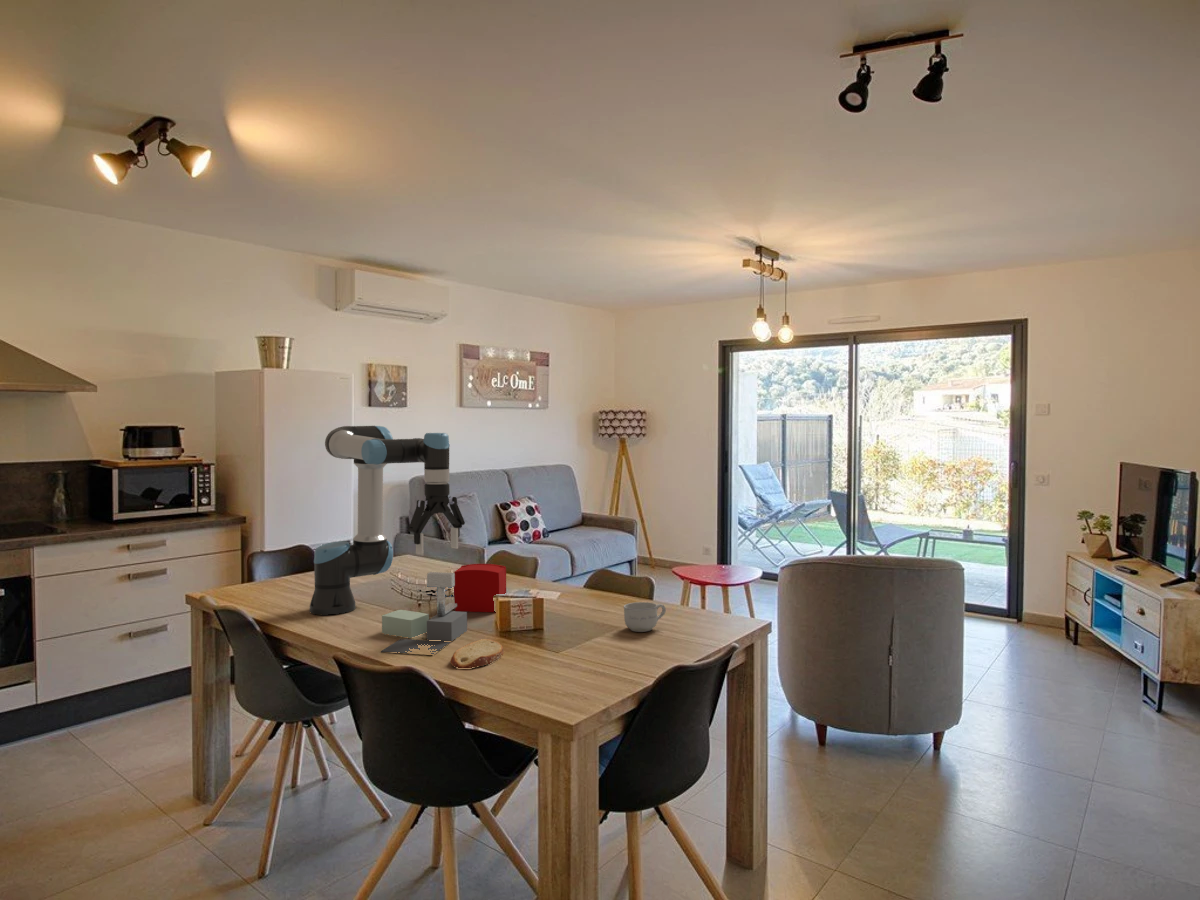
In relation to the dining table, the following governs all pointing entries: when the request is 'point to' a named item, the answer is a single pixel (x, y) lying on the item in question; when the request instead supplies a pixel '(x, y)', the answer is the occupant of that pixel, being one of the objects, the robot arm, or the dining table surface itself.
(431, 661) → the dining table surface
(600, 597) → the dining table surface
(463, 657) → the bread slice
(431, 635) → the block
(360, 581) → the dining table surface
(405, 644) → the mat
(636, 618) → the teacup
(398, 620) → the pale green block
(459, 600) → the maroon rounded cube
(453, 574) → the t key
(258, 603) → the dining table surface
